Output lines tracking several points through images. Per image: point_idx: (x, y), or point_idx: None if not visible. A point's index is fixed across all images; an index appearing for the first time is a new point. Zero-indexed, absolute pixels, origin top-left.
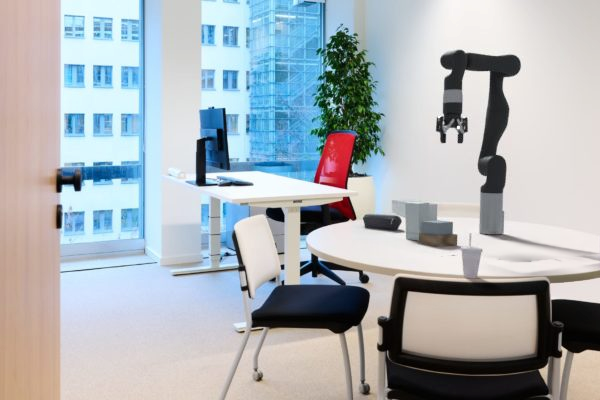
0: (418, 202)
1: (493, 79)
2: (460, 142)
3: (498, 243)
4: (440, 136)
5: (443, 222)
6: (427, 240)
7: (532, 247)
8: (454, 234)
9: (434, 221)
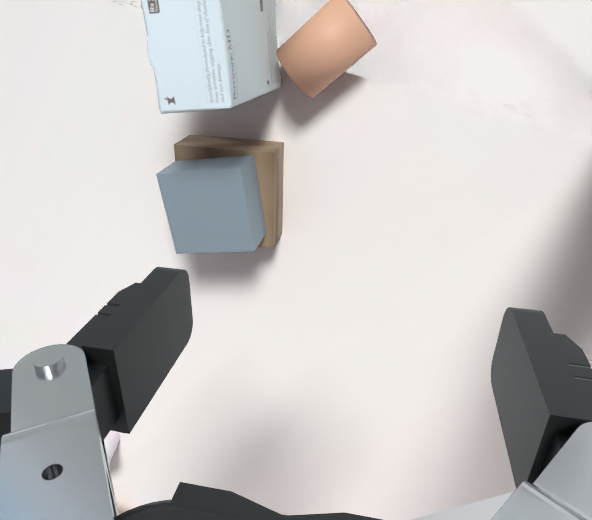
0: (191, 55)
1: None
2: (496, 367)
3: (448, 270)
4: (85, 330)
5: (208, 247)
6: None
7: (460, 372)
8: (262, 244)
9: (198, 204)
